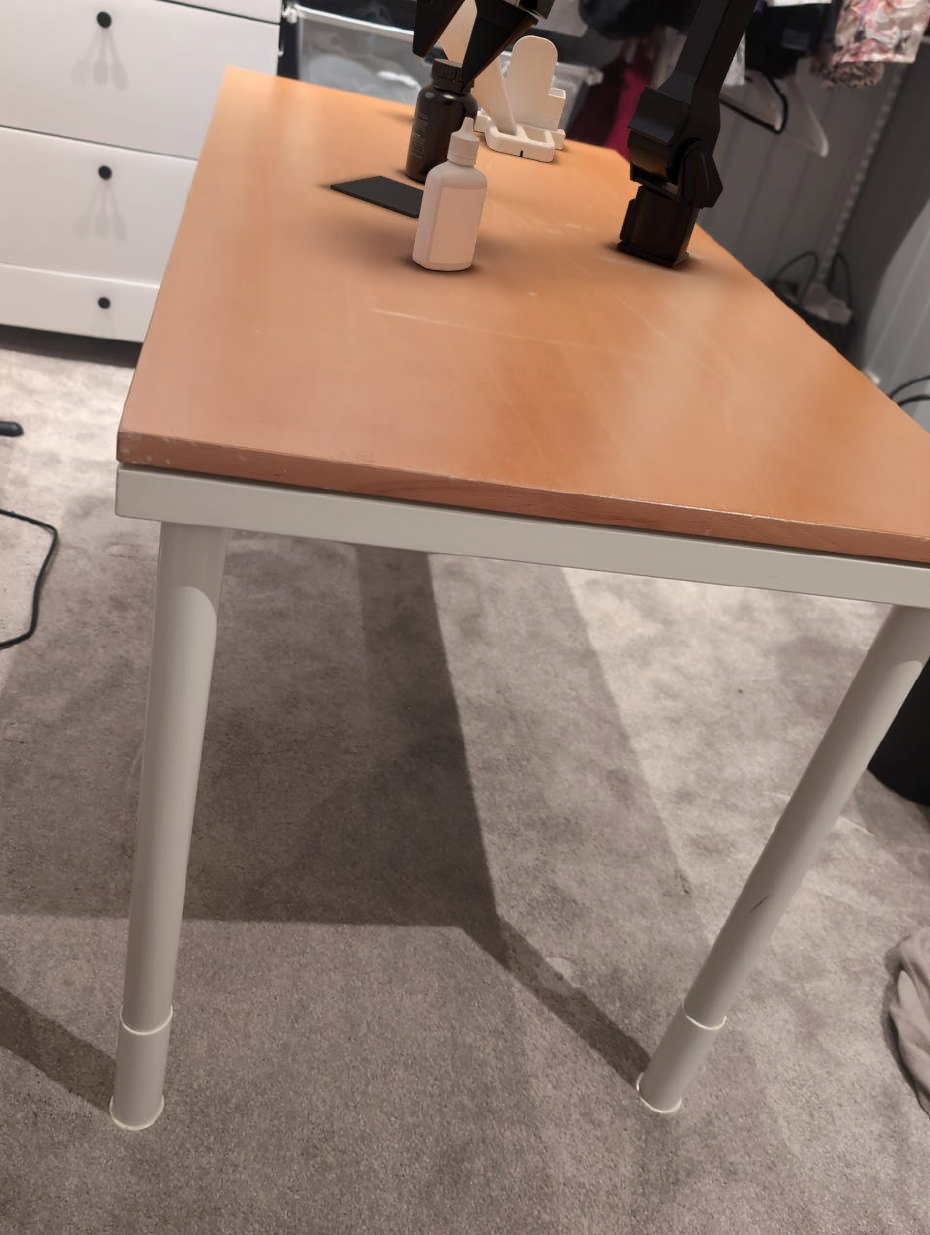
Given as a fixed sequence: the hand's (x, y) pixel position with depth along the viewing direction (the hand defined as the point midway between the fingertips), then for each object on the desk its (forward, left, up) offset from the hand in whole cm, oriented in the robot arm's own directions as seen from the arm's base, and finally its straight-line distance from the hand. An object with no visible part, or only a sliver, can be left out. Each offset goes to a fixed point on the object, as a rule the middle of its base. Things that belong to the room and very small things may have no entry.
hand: (442, 69), depth 86 cm
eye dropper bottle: (-5, +3, -15) cm, 16 cm away
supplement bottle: (+11, -25, -15) cm, 31 cm away
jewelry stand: (+21, -57, -15) cm, 63 cm away
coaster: (+9, -13, -14) cm, 22 cm away
